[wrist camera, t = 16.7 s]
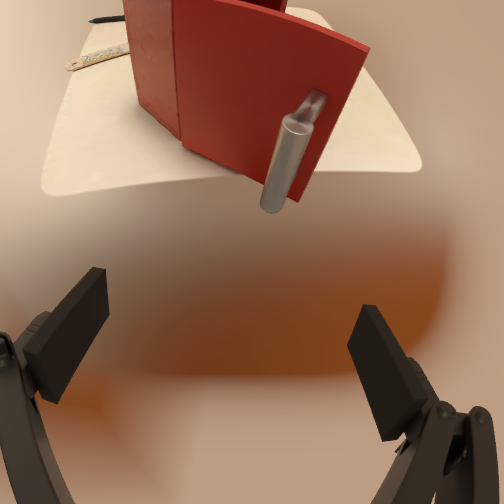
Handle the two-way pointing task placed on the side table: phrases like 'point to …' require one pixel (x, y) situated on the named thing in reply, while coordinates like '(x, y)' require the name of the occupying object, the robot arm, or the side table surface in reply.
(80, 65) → the beige remote control
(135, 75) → the cabinet
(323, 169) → the side table surface
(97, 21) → the pen
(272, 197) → the door
